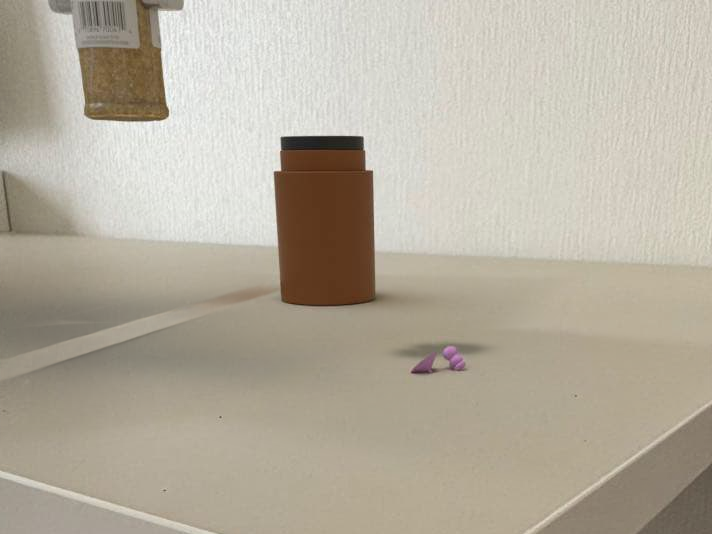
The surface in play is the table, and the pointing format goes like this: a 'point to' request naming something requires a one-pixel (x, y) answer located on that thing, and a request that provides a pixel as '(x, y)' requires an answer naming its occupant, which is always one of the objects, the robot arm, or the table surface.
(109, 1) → the sprinkles bottle
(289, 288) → the amber bottle
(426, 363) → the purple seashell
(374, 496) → the table surface
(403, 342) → the table surface
